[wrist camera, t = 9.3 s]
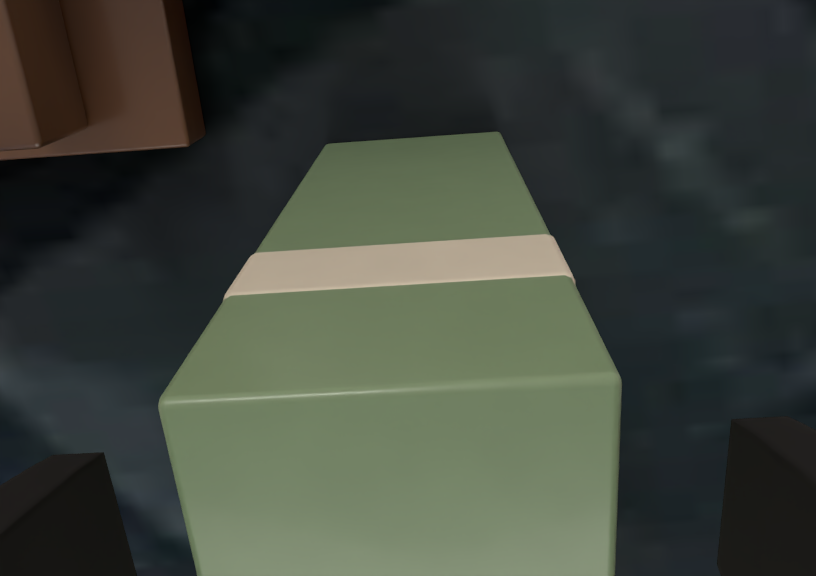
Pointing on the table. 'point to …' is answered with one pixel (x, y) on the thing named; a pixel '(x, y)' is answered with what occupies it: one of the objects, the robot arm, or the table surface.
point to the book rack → (95, 78)
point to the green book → (400, 383)
